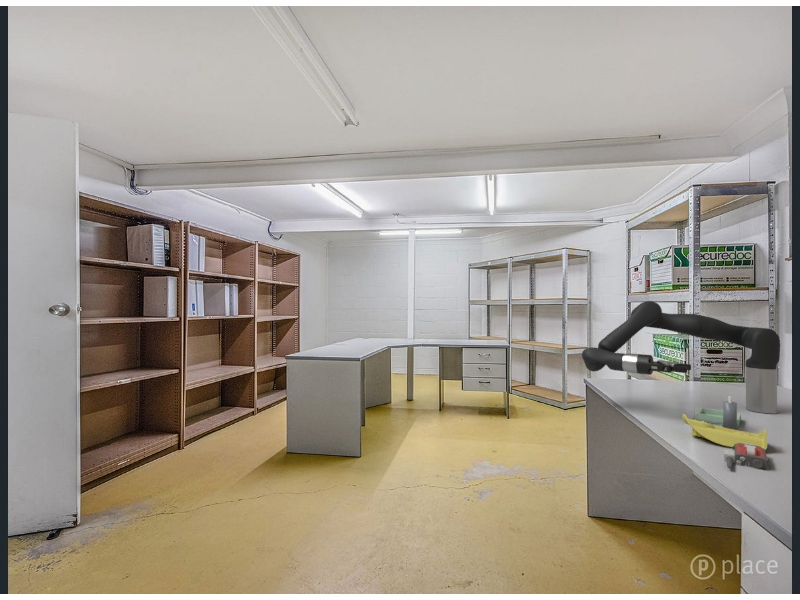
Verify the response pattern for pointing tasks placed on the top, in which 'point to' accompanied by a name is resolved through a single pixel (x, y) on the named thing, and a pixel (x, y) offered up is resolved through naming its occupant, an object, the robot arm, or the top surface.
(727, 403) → the grey bottle white cap
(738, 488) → the top surface
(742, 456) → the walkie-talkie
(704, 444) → the top surface
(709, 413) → the tray
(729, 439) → the plastic component
